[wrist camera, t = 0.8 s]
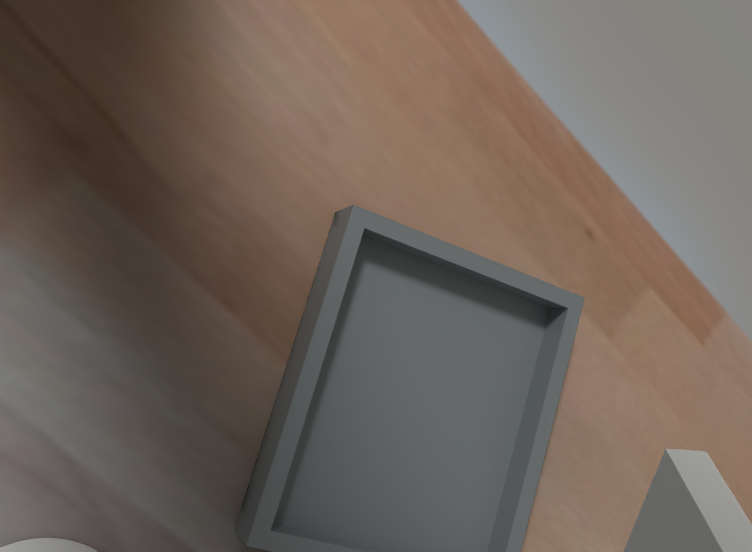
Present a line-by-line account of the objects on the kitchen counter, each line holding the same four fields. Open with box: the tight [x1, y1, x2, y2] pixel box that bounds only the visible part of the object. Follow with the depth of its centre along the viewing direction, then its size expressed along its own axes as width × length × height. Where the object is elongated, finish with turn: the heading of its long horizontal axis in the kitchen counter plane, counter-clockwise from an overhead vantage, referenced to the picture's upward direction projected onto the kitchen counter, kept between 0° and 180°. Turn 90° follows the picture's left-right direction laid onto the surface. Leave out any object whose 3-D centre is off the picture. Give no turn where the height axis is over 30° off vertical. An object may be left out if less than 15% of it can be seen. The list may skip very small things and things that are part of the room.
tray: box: [235, 205, 585, 552], centre depth 34 cm, size 15×13×2 cm
